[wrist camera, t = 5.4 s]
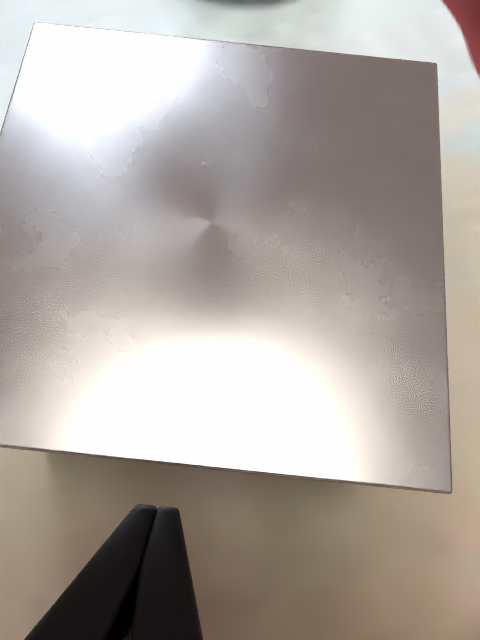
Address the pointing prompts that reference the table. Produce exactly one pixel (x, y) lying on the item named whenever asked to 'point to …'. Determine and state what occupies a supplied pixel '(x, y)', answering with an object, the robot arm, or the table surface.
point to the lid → (224, 259)
